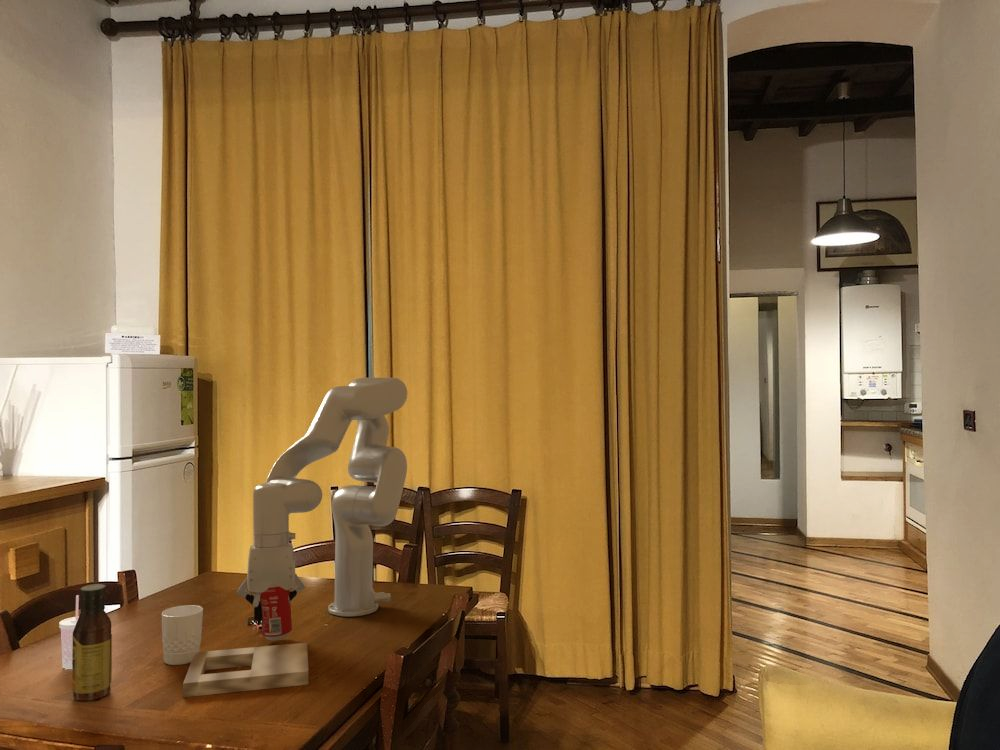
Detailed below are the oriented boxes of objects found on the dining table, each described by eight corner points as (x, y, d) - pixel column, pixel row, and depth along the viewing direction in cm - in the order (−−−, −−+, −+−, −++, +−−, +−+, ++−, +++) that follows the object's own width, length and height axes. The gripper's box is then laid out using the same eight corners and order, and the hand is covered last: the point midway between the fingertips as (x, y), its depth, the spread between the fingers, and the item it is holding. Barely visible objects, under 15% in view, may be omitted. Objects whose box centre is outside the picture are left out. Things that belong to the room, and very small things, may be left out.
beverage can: (296, 630, 160) (293, 577, 160) (285, 641, 154) (282, 586, 154) (269, 630, 161) (266, 578, 160) (257, 642, 154) (254, 587, 154)
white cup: (210, 655, 149) (211, 607, 149) (182, 668, 141) (183, 618, 142) (180, 650, 151) (181, 603, 152) (151, 663, 144) (152, 614, 144)
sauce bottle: (82, 689, 131) (85, 581, 132) (117, 688, 132) (119, 580, 132) (63, 704, 125) (66, 591, 125) (100, 703, 125) (103, 590, 126)
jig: (306, 654, 150) (306, 642, 150) (308, 684, 134) (308, 671, 134) (194, 664, 143) (194, 652, 144) (182, 697, 128) (182, 683, 128)
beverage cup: (96, 665, 143) (98, 595, 143) (62, 673, 138) (63, 601, 139) (88, 657, 147) (90, 589, 147) (54, 664, 143) (56, 595, 143)
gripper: (310, 533, 163) (310, 612, 163) (232, 538, 158) (232, 620, 158) (311, 540, 156) (311, 623, 156) (229, 546, 151) (229, 631, 151)
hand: (271, 621), depth 157 cm, fingers closed on beverage can, 4 cm apart
